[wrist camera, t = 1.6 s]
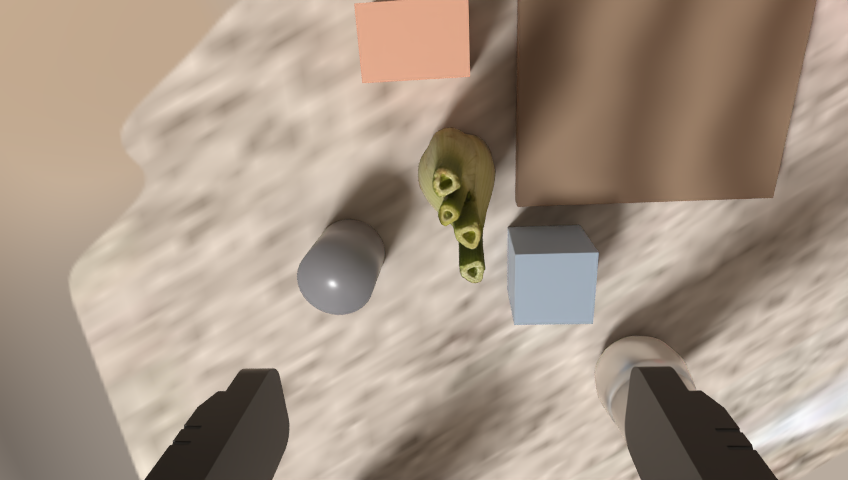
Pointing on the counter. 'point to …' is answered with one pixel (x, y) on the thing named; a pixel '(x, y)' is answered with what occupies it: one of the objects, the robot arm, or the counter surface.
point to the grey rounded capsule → (342, 267)
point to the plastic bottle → (618, 366)
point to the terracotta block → (413, 39)
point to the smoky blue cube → (551, 275)
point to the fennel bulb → (460, 191)
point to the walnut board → (654, 98)
